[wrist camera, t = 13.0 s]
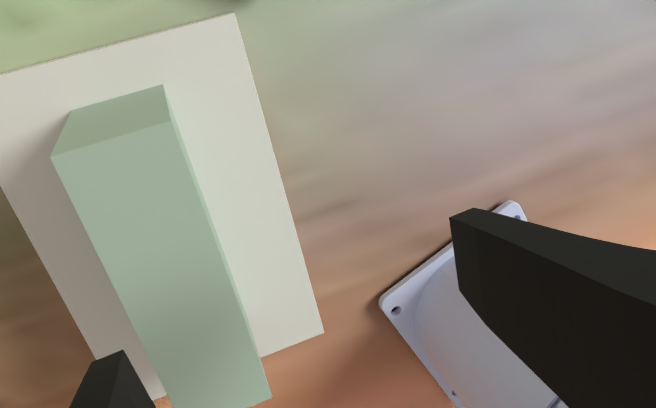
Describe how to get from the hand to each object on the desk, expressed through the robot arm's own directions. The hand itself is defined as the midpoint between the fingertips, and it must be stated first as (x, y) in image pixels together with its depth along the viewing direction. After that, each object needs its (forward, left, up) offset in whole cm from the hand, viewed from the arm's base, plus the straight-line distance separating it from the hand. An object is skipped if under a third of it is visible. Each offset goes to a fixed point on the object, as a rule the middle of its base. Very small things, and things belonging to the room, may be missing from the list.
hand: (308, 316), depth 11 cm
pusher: (0, +3, -10) cm, 10 cm away
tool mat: (-1, +3, -10) cm, 11 cm away
